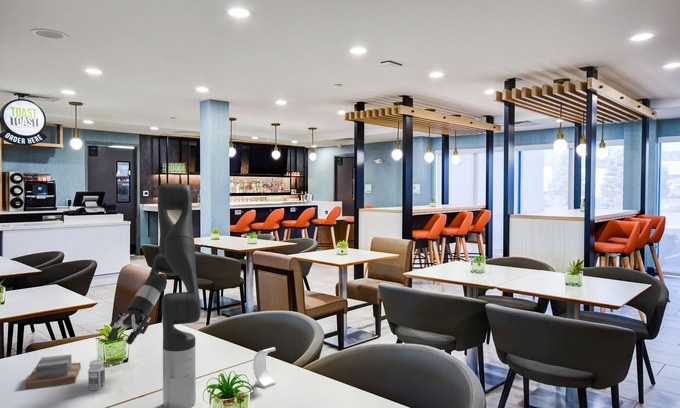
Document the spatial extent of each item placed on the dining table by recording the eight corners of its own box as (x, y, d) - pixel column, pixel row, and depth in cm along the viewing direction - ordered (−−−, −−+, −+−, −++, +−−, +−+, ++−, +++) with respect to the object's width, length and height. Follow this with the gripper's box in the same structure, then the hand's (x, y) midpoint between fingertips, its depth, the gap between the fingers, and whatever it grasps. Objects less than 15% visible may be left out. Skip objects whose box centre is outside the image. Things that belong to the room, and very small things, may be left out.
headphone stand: (264, 388, 155) (264, 351, 155) (253, 382, 160) (253, 347, 159) (275, 384, 159) (275, 347, 158) (264, 379, 163) (264, 343, 163)
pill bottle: (100, 383, 158) (100, 358, 158) (107, 387, 155) (107, 361, 155) (85, 388, 155) (85, 362, 154) (92, 391, 152) (92, 365, 151)
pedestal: (75, 382, 159) (75, 364, 159) (25, 388, 154) (25, 370, 154) (80, 368, 172) (80, 351, 172) (34, 373, 167) (34, 356, 167)
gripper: (123, 293, 173) (96, 333, 163) (154, 296, 168) (128, 338, 157) (135, 304, 178) (109, 344, 168) (165, 308, 173) (140, 350, 162)
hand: (118, 341), depth 163 cm, fingers open, 8 cm apart
